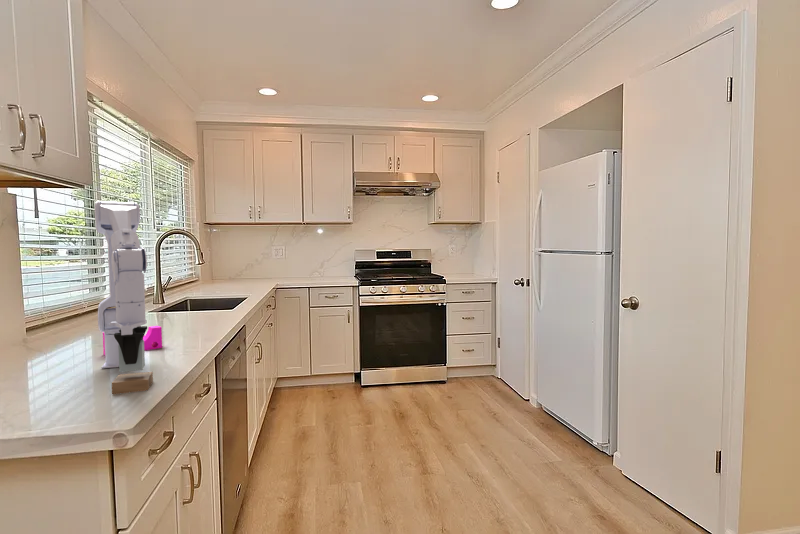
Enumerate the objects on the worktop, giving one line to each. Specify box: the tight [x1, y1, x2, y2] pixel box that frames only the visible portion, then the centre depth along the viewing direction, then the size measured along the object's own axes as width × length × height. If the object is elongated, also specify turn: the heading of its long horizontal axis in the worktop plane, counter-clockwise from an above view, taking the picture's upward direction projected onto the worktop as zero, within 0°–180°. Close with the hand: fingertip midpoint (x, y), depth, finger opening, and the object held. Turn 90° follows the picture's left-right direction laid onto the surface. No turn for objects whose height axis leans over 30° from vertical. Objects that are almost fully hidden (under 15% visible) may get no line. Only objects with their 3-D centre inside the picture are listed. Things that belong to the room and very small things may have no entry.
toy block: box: [102, 325, 163, 356], centre depth 140 cm, size 15×6×8 cm, turn 134°
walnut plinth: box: [111, 371, 154, 395], centre depth 104 cm, size 7×7×3 cm
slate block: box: [118, 340, 146, 373], centre depth 104 cm, size 4×4×6 cm
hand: (132, 361), depth 104 cm, fingers closed on slate block, 4 cm apart
